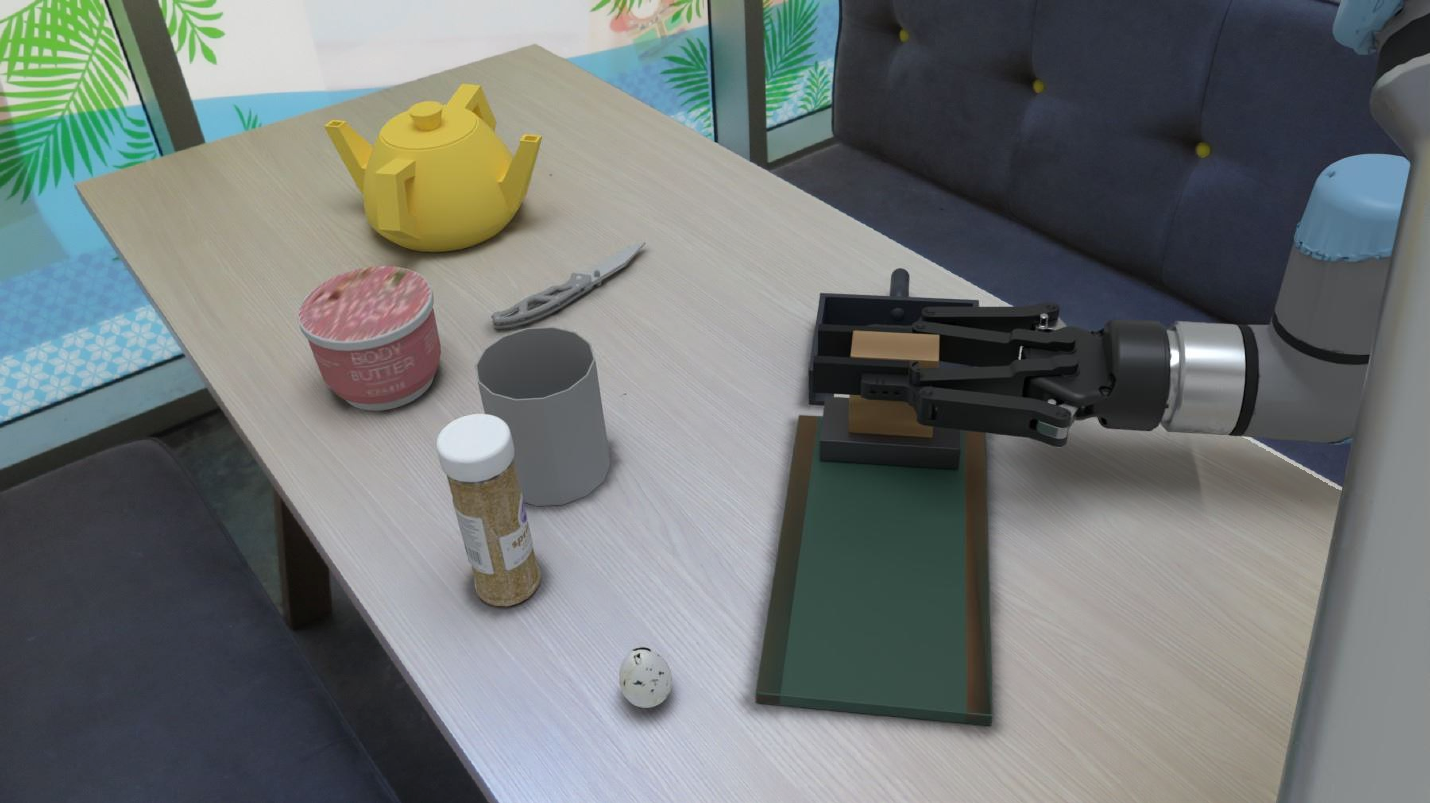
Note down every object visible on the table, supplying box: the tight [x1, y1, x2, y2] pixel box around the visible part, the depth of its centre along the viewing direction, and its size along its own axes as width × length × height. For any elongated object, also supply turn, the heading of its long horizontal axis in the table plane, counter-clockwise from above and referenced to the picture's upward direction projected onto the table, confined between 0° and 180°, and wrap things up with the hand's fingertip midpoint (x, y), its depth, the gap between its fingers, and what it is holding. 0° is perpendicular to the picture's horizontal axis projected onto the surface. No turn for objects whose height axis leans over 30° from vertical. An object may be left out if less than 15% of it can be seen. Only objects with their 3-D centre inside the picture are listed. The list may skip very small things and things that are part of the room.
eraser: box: [820, 331, 961, 469], centre depth 86 cm, size 5×10×9 cm, turn 81°
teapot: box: [323, 83, 543, 253], centre depth 115 cm, size 17×17×12 cm
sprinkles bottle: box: [435, 413, 542, 607], centre depth 77 cm, size 5×5×13 cm
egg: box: [618, 646, 673, 709], centre depth 72 cm, size 3×3×5 cm
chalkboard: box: [755, 414, 994, 726], centre depth 81 cm, size 26×14×1 cm, turn 171°
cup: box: [474, 326, 612, 507], centre depth 87 cm, size 8×8×10 cm
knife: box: [490, 242, 646, 330], centre depth 107 cm, size 2×18×3 cm
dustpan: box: [807, 267, 980, 406], centre depth 98 cm, size 16×13×3 cm
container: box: [297, 265, 442, 412], centre depth 97 cm, size 10×10×8 cm
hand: (816, 358), depth 84 cm, fingers closed on eraser, 3 cm apart
